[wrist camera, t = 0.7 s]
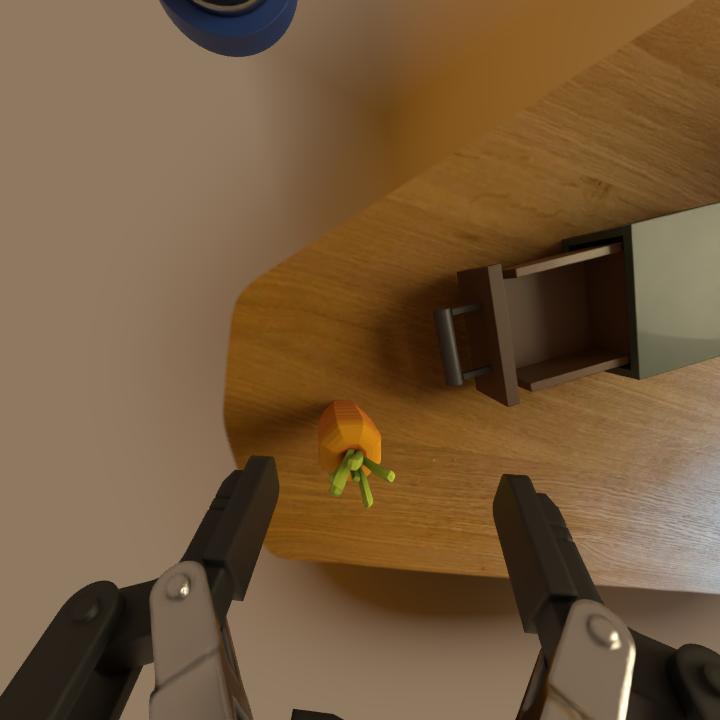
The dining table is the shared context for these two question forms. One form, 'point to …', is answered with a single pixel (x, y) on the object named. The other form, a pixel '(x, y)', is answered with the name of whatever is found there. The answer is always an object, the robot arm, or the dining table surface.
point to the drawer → (539, 322)
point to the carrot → (350, 448)
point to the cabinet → (668, 288)
